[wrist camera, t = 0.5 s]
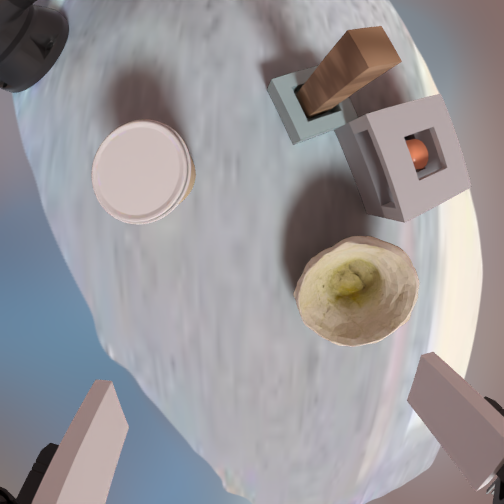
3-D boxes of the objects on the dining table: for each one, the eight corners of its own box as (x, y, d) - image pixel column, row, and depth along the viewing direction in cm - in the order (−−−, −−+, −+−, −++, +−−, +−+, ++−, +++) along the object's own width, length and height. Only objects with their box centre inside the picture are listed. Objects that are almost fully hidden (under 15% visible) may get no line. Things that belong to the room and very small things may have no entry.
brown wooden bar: (293, 97, 32) (347, 30, 15) (315, 90, 32) (381, 26, 15) (304, 120, 33) (368, 67, 16) (326, 112, 33) (401, 61, 15)
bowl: (268, 260, 38) (282, 286, 28) (359, 208, 37) (399, 215, 27) (316, 345, 41) (338, 385, 31) (394, 296, 40) (432, 323, 31)
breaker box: (334, 129, 34) (365, 114, 25) (401, 108, 34) (440, 93, 25) (366, 213, 37) (404, 222, 28) (428, 184, 37) (471, 187, 28)
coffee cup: (152, 127, 33) (119, 102, 21) (216, 159, 34) (210, 145, 23) (118, 193, 34) (73, 197, 22) (180, 226, 36) (158, 244, 24)
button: (380, 147, 33) (401, 143, 28) (400, 140, 33) (422, 135, 28) (390, 173, 34) (411, 173, 29) (409, 165, 34) (431, 164, 29)
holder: (267, 89, 33) (271, 79, 29) (321, 73, 33) (330, 62, 29) (293, 145, 35) (301, 140, 31) (346, 125, 34) (359, 119, 31)
